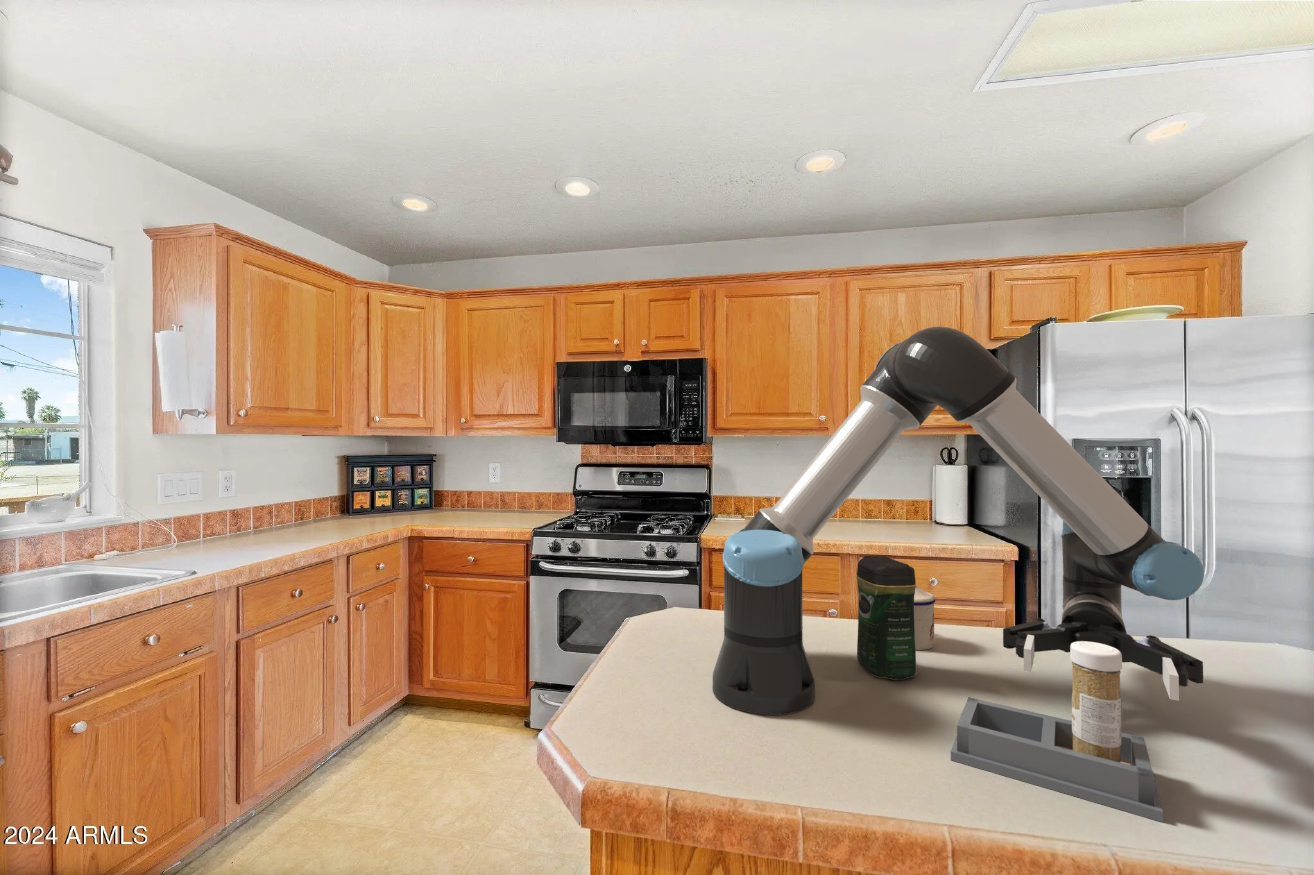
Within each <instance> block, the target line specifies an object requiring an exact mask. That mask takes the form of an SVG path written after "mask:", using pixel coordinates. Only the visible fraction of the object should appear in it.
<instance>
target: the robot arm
mask: <svg viewBox="0 0 1314 875" xmlns="http://www.w3.org/2000/svg"><path fill="white" fill-rule="evenodd" d="M1017 381H1018V380H1017V378H1016V376H1014V375H1013V373H1012V372H1011V371H1010V370H1009V369H1008V368H1007V367H1006V366H1005V365H1004V364H1003V363H1002V362H1001V361H1000V360H999V359H998V358H997V357H995V355H993V354H992V353H991V352H990V351H989V350H988V349H987V348H986V347H984V345H982V344H981V343H979V341H977V340H976V339H975V338H973V337H972V336H970V335H968V333H965V332H963V331H961V330H959V329H956V328H952V327H949V326H948V327H947V326H932V327H927V328H924V329H920V330H919V331H916V332H915V333H913V334H912V335H910V336H909V337H907V338H906V339H904V340H903V341H900V342H898V343H896V344H894V345H892V346H891V347H890V348H888V349H887V350H886V351H884V353H883V354H882V355H881V356H880V358H879V360H878V361H877V363H876V365H875V368H874V370H873V371H872V372H871V374H870V375H869V376H868V378H866V380H864V382H863V384H861V386H860V388H859V390H860V392H859V393H860V401H859V403H857V404H856V406H855V408H854V409H853V410H852V411H851V412H850V413H849V415H847V417H846V418H845V419H844V421H843V422H842V423H841V424H840V426H839V427H838V428H837V429H836V430H835V431H834V433H833V434H832V435H831V436H830V438H829V439H828V440H827V441H826V442H825V444H823V446H822V447H821V448H820V450H819V451H818V452H817V453H816V454H815V456H814V457H813V458H812V459H811V461H810V462H809V463H808V464H807V465H806V467H805V468H804V469H803V470H802V472H801V473H800V474H799V475H798V476H797V478H796V479H795V480H794V481H793V482H792V484H791V485H790V486H789V487H788V489H787V490H786V491H785V492H784V493H783V494H782V496H781V497H780V498H779V500H778V501H776V503H775V504H774V506H771V507H764V508H760V509H759V510H758V511H757V512H756V514H754V516H753V517H752V518H751V519H750V521H748V523H747V524H746V525H745V527H744V528H742V529H740V530H739V531H738V532H736V533H732V534H731V535H730V536H729V537H727V538H726V540H725V543H724V548H723V552H722V563H723V624H724V625H723V641H722V643H721V646H720V650H719V653H718V656H717V659H716V662H715V665H714V669H713V672H712V693H713V695H714V696H715V697H716V698H717V699H718V700H719V701H720V702H721V703H723V704H724V705H726V706H729V707H731V708H734V709H736V710H739V711H743V712H746V713H751V714H752V713H753V714H759V715H772V716H773V715H775V716H777V715H788V714H793V713H797V712H801V711H803V710H806V709H807V708H809V707H810V706H811V705H812V704H813V703H814V702H815V701H816V700H815V699H816V681H815V677H814V675H813V671H812V668H811V665H810V662H809V658H808V655H807V653H806V650H805V647H804V640H803V639H804V638H803V635H804V634H803V628H804V626H803V620H804V618H803V614H804V613H803V570H804V568H803V567H804V565H805V564H806V563H807V561H808V560H809V559H810V558H811V557H812V555H814V553H815V552H814V550H815V549H814V543H813V542H814V538H816V536H817V535H818V534H819V533H820V531H822V529H823V528H824V527H825V526H826V524H827V523H828V521H830V519H831V518H832V517H833V516H834V515H835V513H837V511H838V510H839V509H840V508H841V506H842V505H843V504H844V502H845V501H846V500H848V498H849V497H850V495H852V493H853V492H854V491H855V490H856V489H857V487H858V486H859V485H860V484H861V483H862V482H863V480H864V479H865V477H867V475H868V474H869V473H870V472H871V471H872V470H873V468H874V467H875V466H876V465H877V463H878V462H879V461H880V460H881V458H882V457H883V456H884V455H885V454H886V452H888V450H889V449H890V448H891V447H892V445H893V444H894V443H895V442H896V441H897V439H899V438H900V436H901V435H902V433H903V432H904V431H910V430H918V429H919V428H920V426H922V424H923V423H924V422H925V421H926V420H927V419H928V417H930V415H931V414H932V413H933V412H934V411H935V409H936V408H937V407H940V408H942V409H943V410H944V411H945V412H946V413H948V414H949V415H950V416H951V417H952V418H953V419H954V420H955V421H956V423H958V424H962V423H963V424H969V425H970V426H971V427H972V428H973V430H974V431H976V432H977V434H979V436H980V437H982V438H983V439H984V441H985V442H987V443H988V445H989V446H990V447H991V448H992V449H993V450H994V451H995V452H996V453H997V454H998V455H999V456H1000V457H1001V458H1002V459H1003V460H1004V461H1005V462H1006V463H1007V465H1009V466H1010V467H1011V468H1012V469H1013V470H1014V471H1015V472H1016V474H1017V475H1019V477H1020V478H1021V479H1022V480H1024V482H1025V483H1026V484H1027V485H1029V487H1030V488H1031V489H1032V490H1033V491H1034V492H1035V493H1036V494H1037V495H1038V496H1039V498H1041V499H1042V500H1043V502H1045V503H1046V505H1048V506H1049V507H1050V509H1052V510H1053V512H1054V513H1055V514H1056V515H1057V516H1058V517H1059V518H1061V520H1062V533H1061V535H1060V538H1061V539H1062V540H1061V545H1062V547H1061V548H1062V550H1061V551H1062V573H1063V574H1062V613H1061V623H1059V624H1058V625H1057V626H1052V625H1049V623H1048V622H1046V621H1045V619H1043V618H1035V619H1033V621H1030V622H1026V623H1025V622H1024V623H1021V624H1017V625H1014V626H1013V625H1012V626H1008V627H1004V628H1003V629H1002V646H1003V647H1004V648H1005V649H1009V650H1010V649H1015V654H1016V655H1017V657H1018V658H1021V659H1023V671H1026V672H1032V669H1033V664H1034V659H1035V653H1038V652H1048V651H1049V652H1051V651H1062V652H1064V653H1070V646H1071V644H1072V643H1073V642H1077V641H1087V642H1095V643H1101V644H1105V645H1108V646H1111V647H1114V648H1116V649H1117V650H1119V651H1120V652H1121V654H1122V663H1132V664H1136V665H1137V666H1139V667H1142V668H1144V669H1147V670H1149V671H1151V672H1153V673H1156V674H1159V675H1161V676H1162V681H1163V684H1164V687H1165V690H1166V693H1167V695H1168V697H1169V699H1170V700H1173V701H1178V702H1179V701H1180V687H1185V688H1186V687H1189V686H1188V685H1189V681H1190V682H1192V683H1194V684H1204V661H1202V660H1200V659H1198V658H1197V657H1194V656H1192V655H1190V654H1187V653H1186V652H1184V651H1181V650H1179V649H1177V648H1175V647H1174V646H1172V645H1169V644H1168V643H1165V642H1163V641H1162V640H1161V639H1160V638H1159V637H1158V636H1155V635H1146V637H1143V638H1142V640H1141V639H1134V638H1133V636H1131V634H1128V633H1127V629H1126V625H1125V621H1124V618H1123V612H1122V586H1123V587H1126V588H1129V589H1132V590H1134V591H1137V592H1140V593H1141V594H1142V595H1144V596H1147V597H1155V598H1160V599H1162V600H1167V601H1180V600H1184V599H1187V598H1189V597H1191V596H1192V595H1194V594H1195V593H1196V592H1197V591H1198V590H1200V587H1201V586H1202V585H1203V582H1204V577H1205V570H1204V566H1203V563H1202V561H1201V560H1200V558H1199V556H1198V555H1197V554H1196V553H1194V552H1193V551H1192V550H1190V549H1189V548H1187V547H1184V546H1182V545H1180V544H1178V543H1175V542H1173V541H1167V540H1165V539H1164V538H1163V537H1162V536H1161V535H1160V534H1159V533H1158V532H1157V531H1155V529H1154V528H1153V527H1152V526H1150V524H1149V523H1147V522H1146V521H1145V519H1144V518H1143V517H1141V515H1139V513H1137V511H1136V510H1135V509H1134V508H1133V507H1132V506H1131V505H1129V503H1128V502H1127V501H1126V500H1125V499H1124V498H1123V497H1122V496H1121V495H1120V494H1119V493H1118V492H1117V491H1116V490H1115V489H1114V488H1113V486H1111V485H1110V483H1108V481H1106V479H1104V478H1103V476H1101V474H1099V473H1098V472H1097V470H1095V469H1094V468H1093V467H1092V465H1091V464H1090V463H1088V461H1087V460H1085V458H1084V457H1083V456H1082V455H1081V454H1080V453H1079V451H1077V450H1076V449H1075V448H1074V447H1073V446H1072V445H1071V444H1070V443H1069V442H1068V440H1066V439H1065V438H1064V437H1063V435H1061V434H1060V433H1059V431H1057V430H1056V429H1055V428H1054V427H1053V426H1052V424H1050V423H1049V421H1047V419H1045V417H1044V416H1042V414H1041V413H1039V411H1038V410H1037V409H1036V407H1034V406H1033V405H1032V404H1031V403H1030V402H1029V401H1028V400H1027V399H1026V398H1025V397H1024V396H1023V395H1022V394H1021V393H1020V392H1019V390H1018V389H1017V388H1016V387H1017Z"/></svg>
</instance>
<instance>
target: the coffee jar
mask: <svg viewBox="0 0 1314 875" xmlns="http://www.w3.org/2000/svg"><path fill="white" fill-rule="evenodd" d="M856 581H857V590H858V614H857V616H858V617H857V641H856V642H857V643H856V646H857V647H856V659H857V662H858V664H859V665H860V666H861V667H862V669H864V670H866V672H869V673H870V674H871V675H873V676H875V677H876V678H883V679H890V680H892V681H904V680H906V679H910V678H913V677H915V676H916V674H917V650H915V630H914V595H915V589H916V586H917V584H916V583H917V581H916V571H915V568H914V567H912V566H910V565H909V564H908V563H905V562H902V561H898V560H895V559H893V558H891V557H888V556H886V555H864V556H863V557H862V558H861V559H859V561H858V563H857V570H856Z"/></svg>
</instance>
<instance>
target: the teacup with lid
mask: <svg viewBox="0 0 1314 875" xmlns="http://www.w3.org/2000/svg"><path fill="white" fill-rule="evenodd" d="M935 603H936V598H935V596H934V595H933V594H932V593H931V592H928V591H925V590H923V589H922V588H921V587H919V586H917V585H916V589H915V595H914V630H915V650H916V651H924V650H929V649H932V648H933V647H934V646H935Z"/></svg>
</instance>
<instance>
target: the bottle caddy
mask: <svg viewBox="0 0 1314 875" xmlns="http://www.w3.org/2000/svg"><path fill="white" fill-rule="evenodd" d="M1120 759H1121V760H1120V762H1116V761H1112V760H1108V759H1104V758H1100V757H1096V756H1092V755H1088V754H1084V753H1080V752H1076V751H1073V733H1072V720H1069V719H1066V718H1061V717H1056V716H1052V715H1048V714H1045V713H1039V712H1035V711H1031V710H1027V709H1022V708H1019V707H1018V708H1017V707H1013V706H1008V705H1006V704H1005V705H1004V704H1001V703H996V702H991V701H987V700H984V699H978V698H974V697H971V696H969V697H968V698H967V700H966V702H965V705H964V707H963V710H962V712H961V714H960V717H959V719H958V721H957V725H956V736H955V740H954V742H953V744H952V747H951V749H950V761H952V762H956V763H960V764H963V765H966V766H970V767H972V768H976V769H979V770H980V769H981V770H984V771H987V772H990V773H994V774H996V775H997V774H998V775H1000V776H1004V777H1008V778H1011V779H1014V780H1017V781H1021V782H1024V783H1028V784H1031V785H1034V786H1038V787H1042V788H1045V789H1048V790H1051V791H1054V792H1058V793H1062V794H1065V795H1069V796H1072V797H1075V798H1080V799H1082V800H1085V801H1089V802H1091V803H1092V802H1093V803H1096V804H1099V805H1102V806H1105V807H1110V808H1112V809H1117V810H1120V811H1124V812H1126V813H1130V814H1133V815H1137V816H1141V817H1143V818H1147V819H1151V820H1154V821H1158V822H1160V823H1164V810H1163V806H1162V802H1161V799H1160V795H1159V791H1158V787H1157V783H1156V780H1155V776H1154V775H1155V774H1154V771H1153V767H1152V764H1151V759H1150V756H1149V752H1148V748H1147V745H1146V740H1145V737H1143V736H1138V735H1135V734H1129V733H1126V732H1122V731H1121V745H1120Z"/></svg>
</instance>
